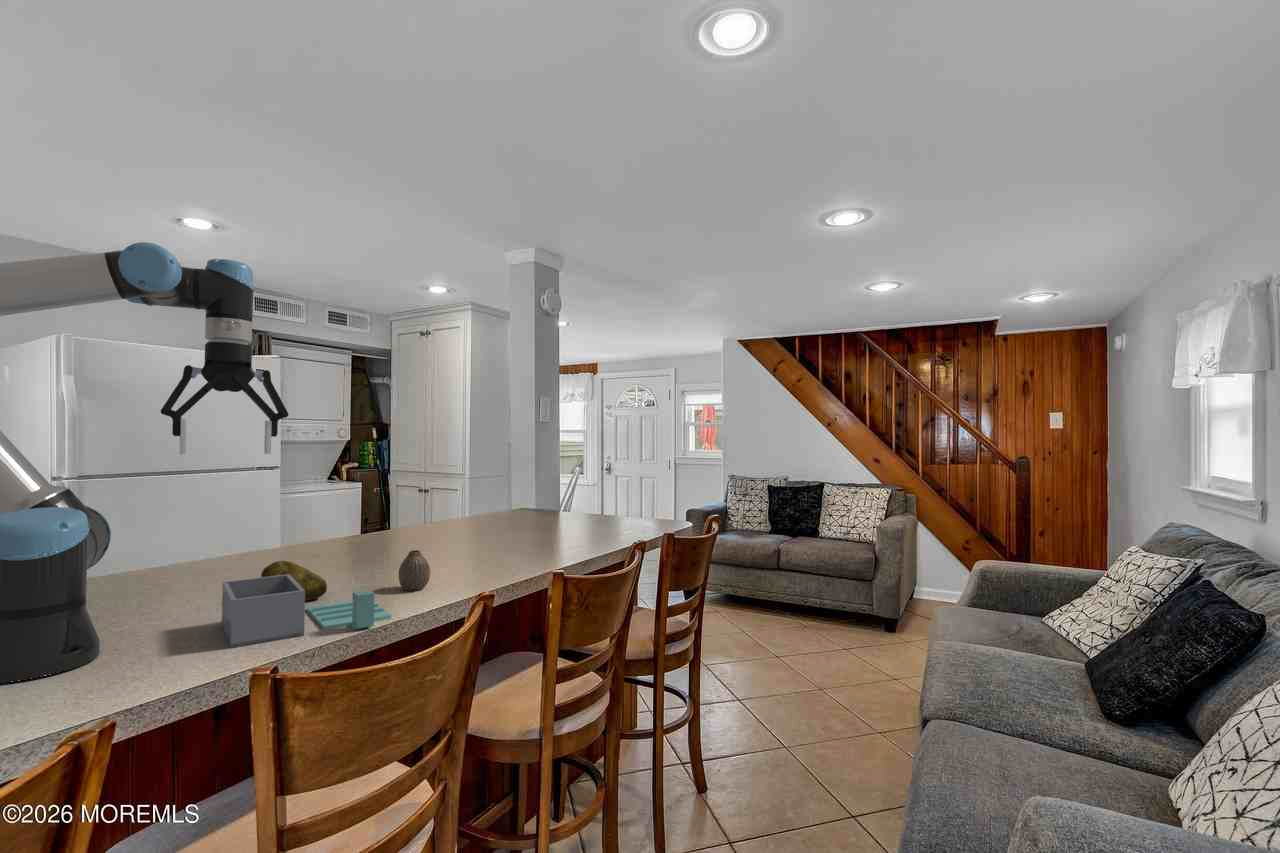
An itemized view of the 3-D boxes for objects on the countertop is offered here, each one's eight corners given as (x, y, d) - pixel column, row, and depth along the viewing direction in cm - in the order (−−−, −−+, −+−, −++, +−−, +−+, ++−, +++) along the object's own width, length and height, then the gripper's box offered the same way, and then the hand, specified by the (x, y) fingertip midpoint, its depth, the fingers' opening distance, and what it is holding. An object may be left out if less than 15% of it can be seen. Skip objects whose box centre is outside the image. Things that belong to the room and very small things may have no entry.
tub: (230, 648, 104) (231, 600, 104) (221, 624, 116) (222, 582, 116) (304, 635, 111) (305, 590, 111) (288, 614, 123) (289, 574, 123)
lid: (329, 636, 111) (330, 599, 111) (306, 610, 126) (307, 577, 126) (398, 624, 118) (399, 589, 118) (368, 600, 133) (369, 570, 134)
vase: (434, 585, 147) (435, 548, 147) (421, 593, 140) (422, 554, 140) (406, 584, 147) (407, 547, 147) (392, 592, 140) (393, 553, 140)
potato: (299, 608, 127) (300, 569, 127) (253, 601, 131) (254, 563, 131) (331, 597, 135) (332, 561, 135) (287, 591, 139) (288, 555, 139)
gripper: (145, 333, 108) (143, 455, 108) (305, 347, 124) (303, 454, 124) (145, 338, 114) (143, 453, 114) (298, 350, 130) (296, 452, 129)
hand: (226, 454), depth 119 cm, fingers open, 13 cm apart
